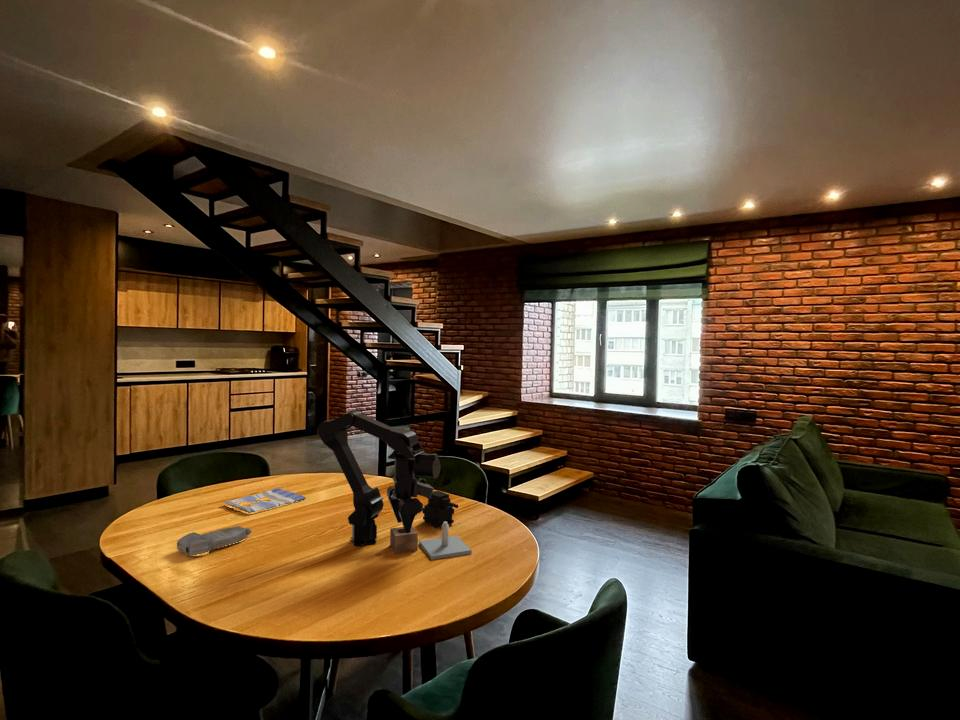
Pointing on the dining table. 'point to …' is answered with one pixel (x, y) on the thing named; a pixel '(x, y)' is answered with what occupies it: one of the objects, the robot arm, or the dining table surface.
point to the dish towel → (274, 495)
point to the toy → (439, 509)
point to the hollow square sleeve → (403, 540)
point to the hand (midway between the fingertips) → (403, 527)
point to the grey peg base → (445, 545)
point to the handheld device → (211, 540)
